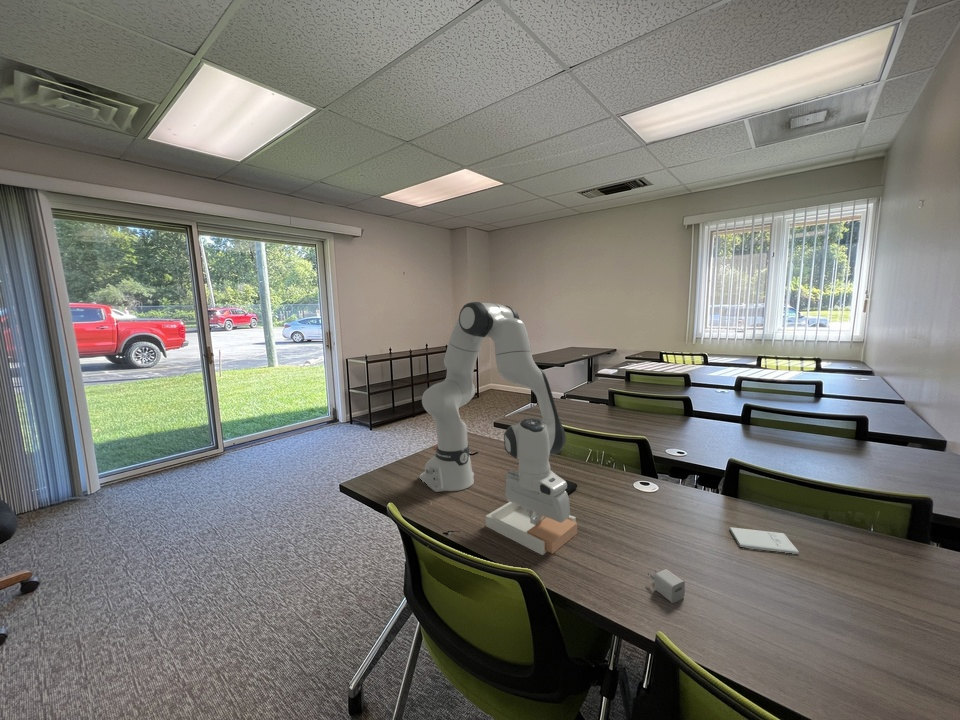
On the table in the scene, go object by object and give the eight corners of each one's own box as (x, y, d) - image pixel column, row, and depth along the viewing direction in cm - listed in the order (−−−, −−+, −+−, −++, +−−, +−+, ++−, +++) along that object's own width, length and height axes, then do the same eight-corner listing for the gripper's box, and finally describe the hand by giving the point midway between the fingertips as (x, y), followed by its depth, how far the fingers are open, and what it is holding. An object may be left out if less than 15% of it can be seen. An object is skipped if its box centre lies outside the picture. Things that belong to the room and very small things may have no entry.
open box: (486, 528, 109) (485, 515, 109) (520, 507, 121) (520, 495, 120) (542, 558, 95) (542, 543, 95) (575, 530, 106) (575, 517, 106)
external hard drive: (729, 531, 103) (783, 537, 100) (739, 550, 96) (798, 557, 92) (729, 526, 103) (783, 532, 100) (740, 544, 96) (799, 551, 92)
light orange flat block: (527, 541, 101) (527, 531, 101) (553, 522, 109) (552, 513, 109) (552, 553, 95) (552, 543, 95) (577, 533, 104) (577, 523, 103)
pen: (443, 533, 109) (443, 530, 108) (509, 536, 106) (509, 532, 106) (443, 535, 108) (442, 531, 108) (509, 538, 105) (509, 534, 105)
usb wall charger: (671, 604, 79) (671, 586, 78) (644, 583, 85) (644, 566, 85) (684, 597, 80) (684, 580, 80) (657, 577, 87) (657, 561, 86)
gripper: (499, 471, 110) (501, 516, 111) (559, 492, 95) (560, 543, 97) (513, 464, 114) (515, 507, 116) (572, 484, 100) (573, 532, 101)
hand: (536, 524), depth 106 cm, fingers closed
